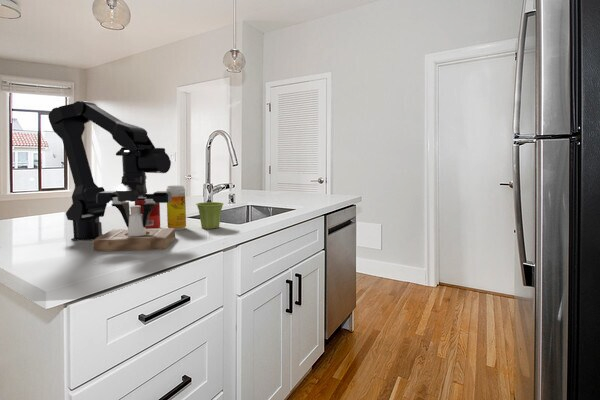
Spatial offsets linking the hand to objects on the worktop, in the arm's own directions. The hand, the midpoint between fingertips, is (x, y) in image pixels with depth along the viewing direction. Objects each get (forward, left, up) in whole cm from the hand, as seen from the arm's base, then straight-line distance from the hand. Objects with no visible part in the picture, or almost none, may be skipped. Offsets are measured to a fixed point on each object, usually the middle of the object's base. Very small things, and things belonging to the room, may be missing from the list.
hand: (136, 227), depth 99 cm
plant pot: (+18, +22, -5) cm, 29 cm away
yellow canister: (+7, +21, -5) cm, 23 cm away
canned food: (-3, +23, -5) cm, 24 cm away
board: (0, 0, -5) cm, 5 cm away
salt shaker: (0, 0, -5) cm, 5 cm away
